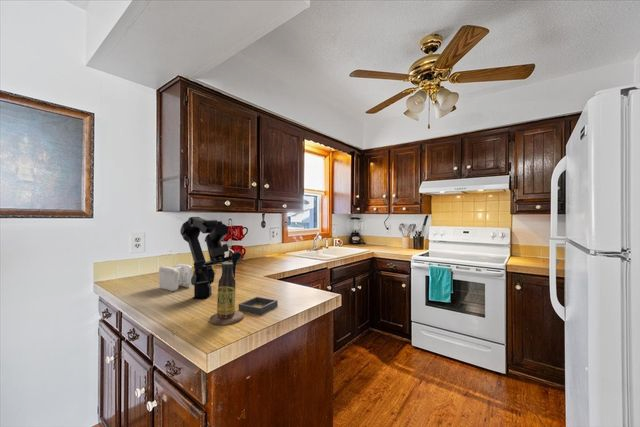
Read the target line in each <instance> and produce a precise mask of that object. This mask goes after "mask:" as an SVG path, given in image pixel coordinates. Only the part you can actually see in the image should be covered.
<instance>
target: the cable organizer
mask: <svg viewBox="0 0 640 427" xmlns="http://www.w3.org/2000/svg"><path fill="white" fill-rule="evenodd" d="M192 276H193V267H192V266H191V265H190V264H186V263H185V264H184V263H175V264H174V267H171V266H167V265H165V266H164V265H163V266H159V268H158V285H159V287H160V288H161V289H162V290H168V291H170V292H175V291H178V289H179V286H183V287H184V288H189V287H192V286H193V285H192V284H191V278H192Z"/></svg>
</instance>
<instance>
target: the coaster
mask: <svg viewBox="0 0 640 427" xmlns="http://www.w3.org/2000/svg"><path fill="white" fill-rule="evenodd" d="M244 315H245V314H244V312H243V311H239V310H235V312H234V316H233V317H231V318H227V319H220V318H218V317H217V312H216V313H214V314H212V315H211V316H210V317H209V323H210V324H211V325H214V326H229V325H233V324H237V323H239V322H241V321H242V320H243V319H244V318H245V316H244Z"/></svg>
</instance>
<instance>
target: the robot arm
mask: <svg viewBox="0 0 640 427" xmlns="http://www.w3.org/2000/svg"><path fill="white" fill-rule="evenodd" d="M179 234H180V235H181V237H182V238H183V240H184V241H185V242H187V243H188V247H189V250H190V253H191V256H192V259H193V260H192V261H193V267H194V268H193V269H194V270H193V271H192V278H191V284H192V286H193V287H194V288H193V289H194V296H193V297H192V299H193V300H196V299H197V300H200V299H203V300H204V299H208V298H210V296H212V295H213V294H212V284H213V283H214V280H215V275H216V273H215V271H214V268H213V267H212V266H214V265H218V264H222V263H225V262H231V263H233V277H234V279H235V278H236V267H237V265H238V264H239V262H241V261H242V258H243V255H242V252H240V251H239V250H238V251H235V252H231V253H230V256H229V255H228V256H226V254H225V253H226V252H229V250H230V249H229V245H228V243H225V244H222V241H223V240H224V238H225V237H227V235H228V234H229V227H228V226H227V225H226V224H224V223H223V221H222V220H220V221H218V220H217V219H210V220H208V219H206V218H205V219H204V218H202V217H199V216H190V217H188V219H187V220H185V222H183V223H182V225H181V227H180V232H179ZM200 234H207V235H206V236H205V238H204V242H205V243H206V246H207V251H208V255H209V260H207V261H206V259H205V254H204V252H203V249H202V246H201V243H200V240H199V236H200Z"/></svg>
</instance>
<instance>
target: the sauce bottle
mask: <svg viewBox="0 0 640 427" xmlns="http://www.w3.org/2000/svg"><path fill="white" fill-rule="evenodd" d="M216 301H217V302H216V303H217V304H216V313H217V317H218V318H220V319H227V318H231V317H233V316H234V312H235V311H236V280H235V278H234V277H233V263H232V262H231V261H227V262H223V263H221V276H220V279H219V280H218V284H217V300H216Z"/></svg>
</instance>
